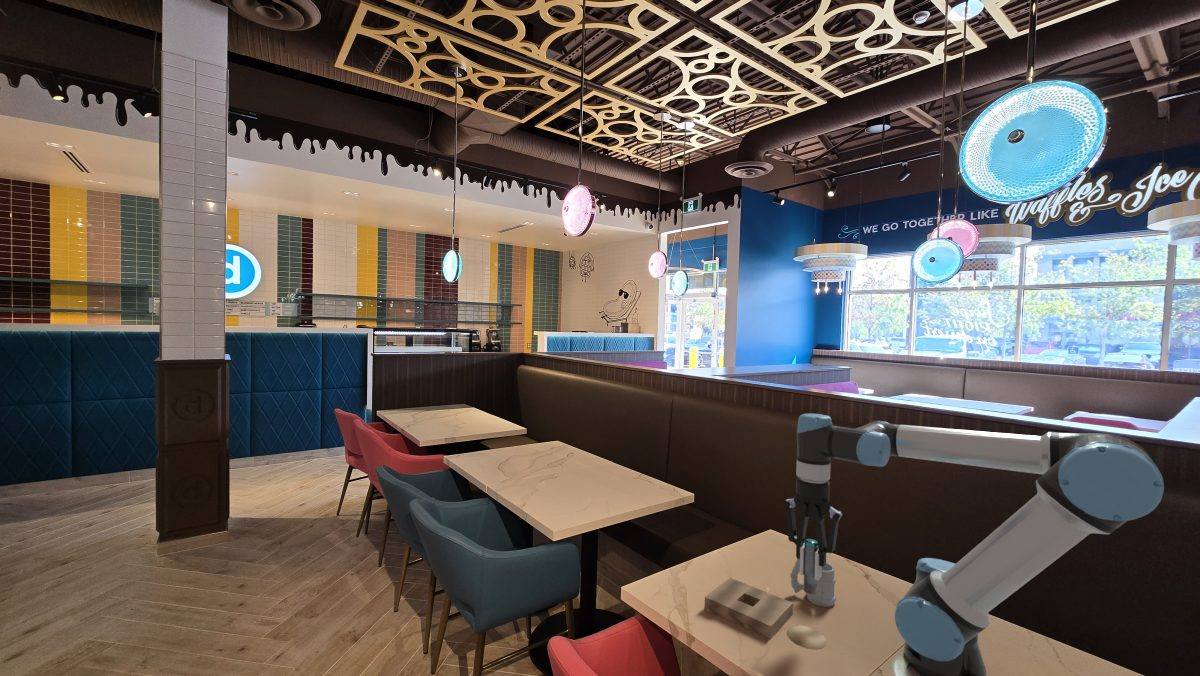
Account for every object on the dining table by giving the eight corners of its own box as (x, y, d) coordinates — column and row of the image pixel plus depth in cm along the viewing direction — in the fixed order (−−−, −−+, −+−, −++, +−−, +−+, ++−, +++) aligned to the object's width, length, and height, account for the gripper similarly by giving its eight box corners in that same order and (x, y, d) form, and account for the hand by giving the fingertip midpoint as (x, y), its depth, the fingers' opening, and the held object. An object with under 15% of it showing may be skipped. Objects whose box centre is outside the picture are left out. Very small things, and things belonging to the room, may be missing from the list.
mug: (838, 611, 131) (839, 567, 130) (790, 602, 134) (792, 559, 134) (833, 596, 138) (835, 554, 138) (788, 588, 142) (790, 547, 141)
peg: (818, 590, 118) (819, 541, 118) (814, 595, 116) (815, 545, 116) (806, 586, 120) (807, 537, 120) (801, 590, 118) (802, 541, 118)
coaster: (831, 638, 119) (831, 636, 119) (819, 656, 112) (819, 654, 112) (794, 622, 125) (794, 621, 125) (780, 638, 118) (780, 636, 118)
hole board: (792, 616, 128) (793, 602, 128) (770, 640, 118) (771, 626, 117) (729, 589, 140) (729, 577, 140) (704, 609, 130) (704, 596, 130)
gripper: (853, 482, 115) (850, 581, 116) (786, 468, 126) (783, 559, 126) (843, 489, 110) (840, 593, 110) (774, 474, 120) (772, 569, 121)
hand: (810, 575), depth 118 cm, fingers closed on peg, 3 cm apart
